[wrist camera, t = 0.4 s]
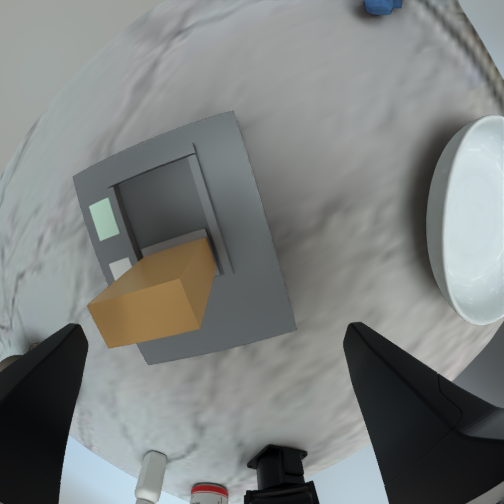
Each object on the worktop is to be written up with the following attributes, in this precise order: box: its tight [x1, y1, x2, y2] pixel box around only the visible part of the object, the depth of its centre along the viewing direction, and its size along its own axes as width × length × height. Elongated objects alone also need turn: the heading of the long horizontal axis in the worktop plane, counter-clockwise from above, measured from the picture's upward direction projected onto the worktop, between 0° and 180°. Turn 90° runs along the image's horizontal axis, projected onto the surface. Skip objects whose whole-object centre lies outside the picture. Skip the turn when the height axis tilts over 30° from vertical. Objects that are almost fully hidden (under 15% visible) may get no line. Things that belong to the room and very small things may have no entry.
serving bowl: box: [426, 115, 504, 325], centre depth 20 cm, size 21×21×7 cm
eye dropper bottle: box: [135, 451, 167, 504], centre depth 24 cm, size 4×6×12 cm
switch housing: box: [73, 111, 297, 365], centre depth 21 cm, size 18×14×4 cm
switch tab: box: [87, 228, 221, 348], centre depth 16 cm, size 4×5×9 cm
